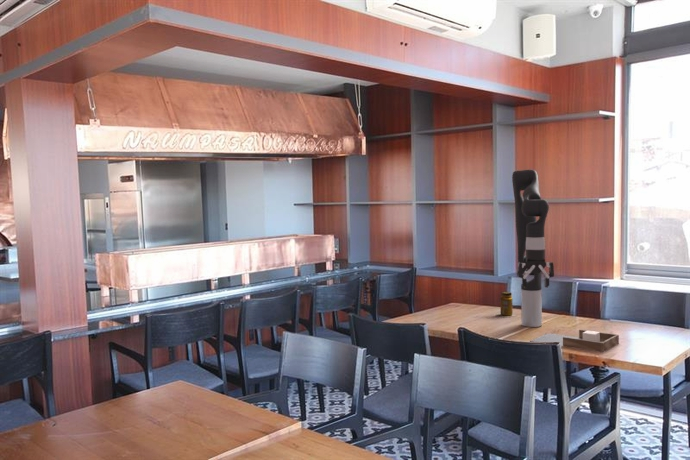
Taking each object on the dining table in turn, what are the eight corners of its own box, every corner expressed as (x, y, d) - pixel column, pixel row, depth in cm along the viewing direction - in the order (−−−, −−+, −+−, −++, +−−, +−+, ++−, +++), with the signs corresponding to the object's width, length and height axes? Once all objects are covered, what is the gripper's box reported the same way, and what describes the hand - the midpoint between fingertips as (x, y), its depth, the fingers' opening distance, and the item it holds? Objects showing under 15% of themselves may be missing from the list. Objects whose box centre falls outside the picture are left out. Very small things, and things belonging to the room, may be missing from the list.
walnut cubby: (579, 337, 250) (579, 329, 250) (618, 343, 239) (618, 334, 239) (562, 345, 237) (562, 337, 237) (603, 352, 226) (603, 343, 226)
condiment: (515, 315, 306) (515, 292, 305) (507, 317, 300) (507, 294, 299) (503, 313, 311) (503, 291, 310) (494, 316, 305) (494, 293, 304)
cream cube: (587, 342, 241) (587, 330, 241) (599, 344, 238) (599, 332, 238) (582, 344, 238) (582, 332, 238) (595, 346, 234) (595, 334, 234)
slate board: (548, 335, 260) (548, 333, 259) (619, 345, 239) (619, 343, 239) (529, 343, 246) (529, 340, 246) (603, 354, 226) (603, 352, 226)
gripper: (550, 247, 243) (550, 286, 244) (515, 247, 244) (515, 286, 245) (555, 248, 236) (556, 288, 237) (520, 249, 237) (520, 289, 237)
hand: (535, 287), depth 241 cm, fingers open, 8 cm apart
